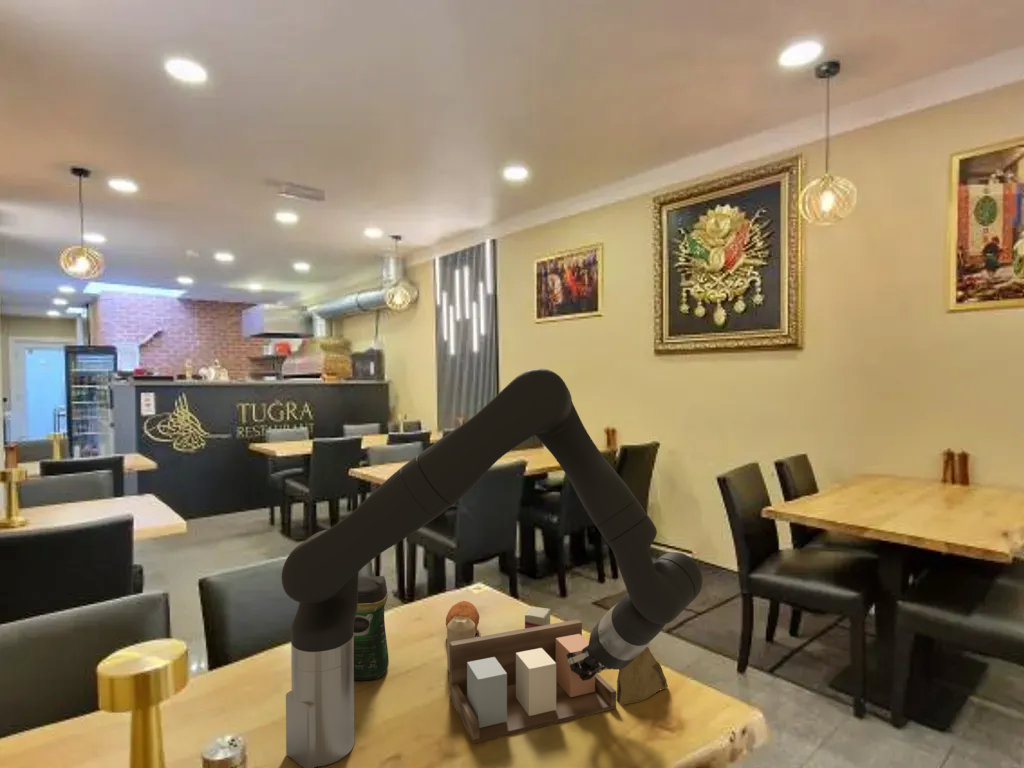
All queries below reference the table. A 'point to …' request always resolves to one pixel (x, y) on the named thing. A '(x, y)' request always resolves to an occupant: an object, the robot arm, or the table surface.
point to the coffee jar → (370, 629)
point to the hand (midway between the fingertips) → (583, 674)
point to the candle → (459, 632)
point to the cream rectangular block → (535, 681)
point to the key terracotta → (563, 671)
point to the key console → (505, 653)
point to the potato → (463, 612)
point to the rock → (640, 679)
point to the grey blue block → (487, 691)
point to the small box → (537, 617)
